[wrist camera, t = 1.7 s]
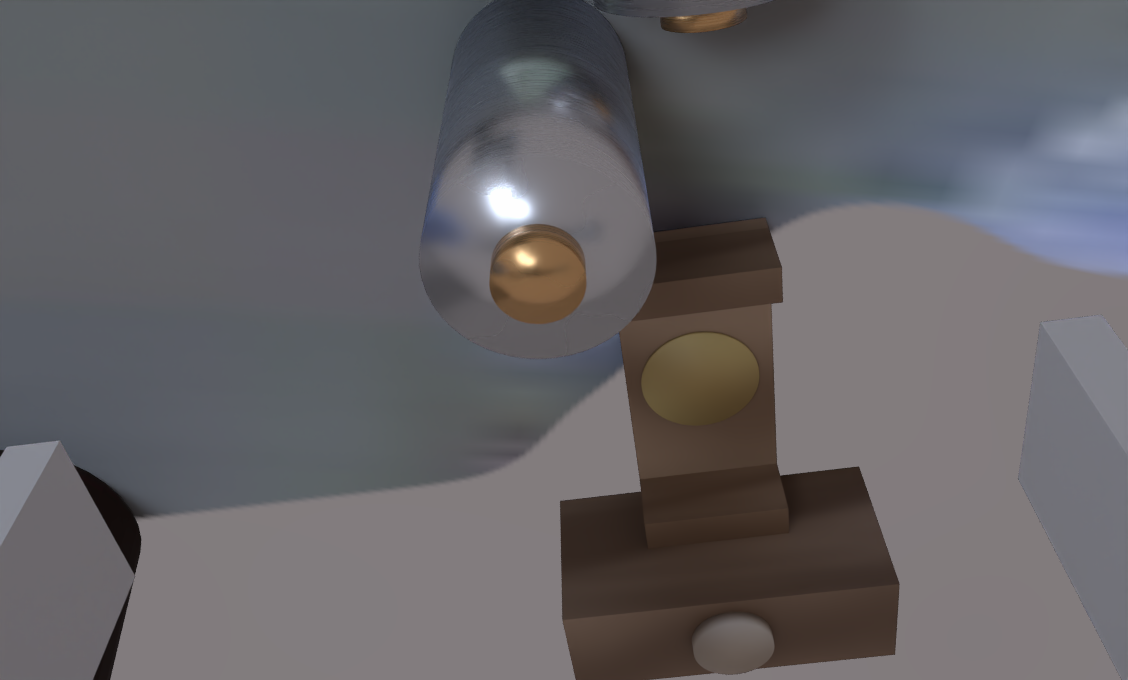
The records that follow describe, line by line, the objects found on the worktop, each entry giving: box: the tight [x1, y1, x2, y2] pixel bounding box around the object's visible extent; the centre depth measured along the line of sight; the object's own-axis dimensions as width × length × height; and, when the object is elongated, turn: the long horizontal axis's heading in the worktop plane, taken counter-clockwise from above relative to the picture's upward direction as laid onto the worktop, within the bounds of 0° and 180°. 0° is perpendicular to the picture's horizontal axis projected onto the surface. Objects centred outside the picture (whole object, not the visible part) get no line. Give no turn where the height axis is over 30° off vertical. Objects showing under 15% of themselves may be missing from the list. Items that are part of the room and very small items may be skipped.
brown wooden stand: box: [560, 218, 899, 680], centre depth 29 cm, size 12×9×5 cm
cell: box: [419, 0, 657, 359], centre depth 21 cm, size 4×4×9 cm
